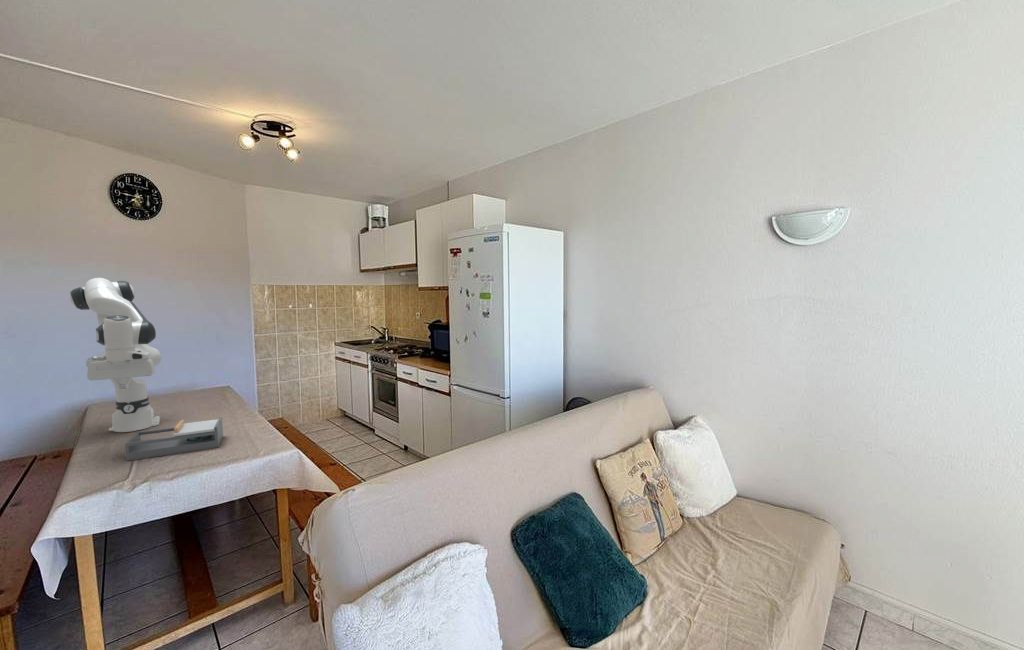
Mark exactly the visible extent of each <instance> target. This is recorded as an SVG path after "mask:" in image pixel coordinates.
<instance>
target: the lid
mask: <svg viewBox="0 0 1024 650" xmlns="http://www.w3.org/2000/svg"><path fill="white" fill-rule="evenodd" d="M218 419H219V418H218ZM218 419H217V418H216V419H209V420H202V421H193V422H186V423H185V419H181V420H179V422H178V423H177V424H176V425H175V426H174V427H173V428H174V431H173V432H174V433H173V437H174V436H181V435H189V434H196V433H204V432H212V431H215V430H214V427H215V425H216V423H217V421H218Z"/></svg>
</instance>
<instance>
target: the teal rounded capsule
mask: <svg viewBox="0 0 1024 650" xmlns="http://www.w3.org/2000/svg"><path fill="white" fill-rule="evenodd" d="M196 434H197V433H196ZM192 440H199V437H193V438H189V441H192Z"/></svg>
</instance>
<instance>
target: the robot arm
mask: <svg viewBox="0 0 1024 650" xmlns="http://www.w3.org/2000/svg"><path fill="white" fill-rule="evenodd" d="M69 294H70V295H69V300H70V302H71V304H72V305H73V306H74V307H76V309H79V310H82V311H83V310H87V311H88V310H91V311H93V312H94V313H96V317H97V321H98V327H96V328H95V331H96V343H99V344H100V345H101V346H104V347H105V348H104V352H103V353H100V354H98V355H96V356H91V357H90V358H88V359H86V361H85V364H86V365H85V366H86V367H87V370H86V371H87V372H86V377H87V379H88V381H100V380H110V382H111V383H112V384H113V385H114V386H113V387H114V390H115V398H116V401H115V405H114V406H115V411H114V412H112V416H111V417H112V421H111V422H112V426H111V427H109V428H108V432H115V433H128V432H129V433H131V432H135V431H139V430H145V429H148V428H152V427H155V426H159V425H160V422H161V416H159V415H155V411H154V408H153V407H152V406H151V405H150V397H149V395H148V389H147V383H146V381H145V380H143V379H141V378H140V377H142V378H143V377H151V376H153V375H154V374H155V372H156V370H155V369H156V368H155V367H156V366H159V364H160V363H161V361H162V353H161V352H160V350H158V349H157V348H155V347H153V346H150V345H149V344H150V343H152V341H154V340H155V339H156V336H157V335H156V333H157V332H156V328H155V325H153V323H152V322H150V321H149V320H148V318H146V317H145V315H144V314H143V313H142V311H141V310H140V309H139V308H138V306H137V305H136V304H135V303H134V302H133V301H134V299H135V295H136V292H135V289H134V287H133V286H132V285H131V284H130V283H129V282H128V281H126V280H117V281H110V280H109V279H107V278H103V277H94V278H91V279H89V280H87V281H86V283H85V285H84V286H83V287H81V286H80V287H77V288H73V289H72V290H71V291H70V292H69Z"/></svg>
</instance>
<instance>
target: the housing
mask: <svg viewBox="0 0 1024 650" xmlns="http://www.w3.org/2000/svg"><path fill="white" fill-rule="evenodd" d="M174 428H175V427H168V428H161V429H152V430H150V429H149V430H144V431H137V432H136V433H134V434H133V435H132V436H131V437H130V438H129V439H128V440H127V441H126V442H125V443H124V448H125V461H128V462H129V461H134V460H141V459H147V458H148V459H149V458H154V457H160V456H161V457H162V456H166V455H167V456H168V455H176V454H182V453H188V452H194V451H202V450H209V449H215V448H220V445H221V443H222V440H223V438H224V430H223V428H224V427H223V417H218V421H217V423H216V425H215V427H214V431H212V432H204V433H197V434H189V435H181V436H174V435H173V436H168V437H167V436H166V437H160V438H153V439H146V440H145V439H144V440H141V439H142V438H141V436H145V435H152V434H159V433H160V434H161V433H168V432H169V433H170V432H174ZM193 437H199V440H192V441H189V438H193Z"/></svg>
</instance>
